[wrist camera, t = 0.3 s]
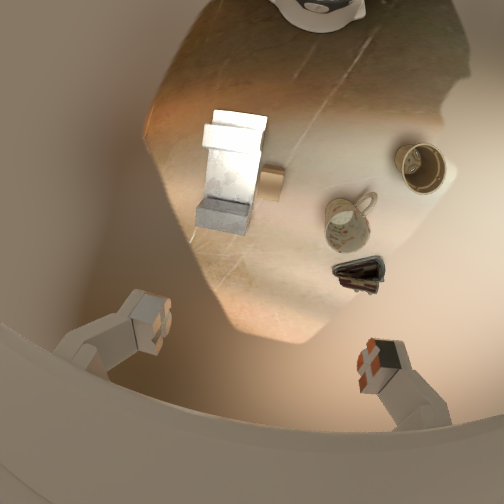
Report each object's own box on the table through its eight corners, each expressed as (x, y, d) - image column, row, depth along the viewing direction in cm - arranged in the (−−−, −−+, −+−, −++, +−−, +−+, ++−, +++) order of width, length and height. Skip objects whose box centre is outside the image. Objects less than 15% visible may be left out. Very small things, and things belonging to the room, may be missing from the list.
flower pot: (378, 164, 49) (392, 174, 42) (402, 127, 44) (420, 132, 37) (410, 190, 50) (427, 204, 43) (434, 155, 46) (454, 165, 38)
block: (264, 164, 53) (261, 171, 48) (284, 168, 53) (283, 175, 47) (260, 188, 55) (256, 197, 50) (279, 192, 55) (278, 202, 50)
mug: (311, 212, 56) (315, 233, 48) (354, 170, 51) (367, 184, 42) (339, 237, 58) (346, 262, 50) (381, 198, 52) (396, 217, 44)
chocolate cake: (332, 291, 65) (374, 312, 57) (328, 272, 60) (375, 294, 52) (352, 264, 68) (393, 282, 60) (350, 245, 63) (395, 262, 55)
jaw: (203, 196, 56) (196, 204, 52) (251, 205, 56) (248, 214, 52) (201, 216, 58) (195, 226, 54) (248, 225, 58) (244, 235, 54)
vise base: (215, 109, 48) (206, 110, 43) (267, 116, 48) (264, 118, 43) (203, 220, 60) (194, 232, 55) (248, 229, 60) (243, 242, 55)
